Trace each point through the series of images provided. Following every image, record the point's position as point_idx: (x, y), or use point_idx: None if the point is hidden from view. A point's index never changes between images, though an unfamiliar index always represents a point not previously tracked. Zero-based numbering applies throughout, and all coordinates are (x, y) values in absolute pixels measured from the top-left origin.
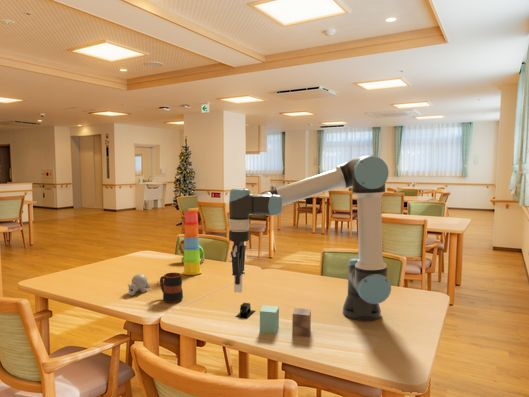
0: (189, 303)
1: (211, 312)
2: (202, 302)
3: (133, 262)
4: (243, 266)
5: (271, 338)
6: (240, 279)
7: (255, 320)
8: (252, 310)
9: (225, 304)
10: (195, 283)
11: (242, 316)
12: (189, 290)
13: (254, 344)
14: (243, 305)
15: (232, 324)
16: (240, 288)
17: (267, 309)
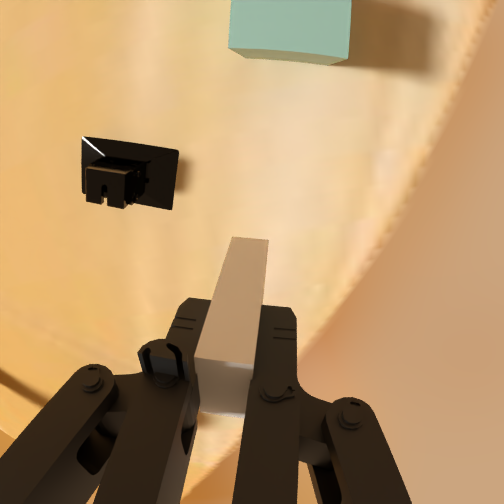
0: (118, 364)
1: (157, 302)
2: (93, 336)
3: (18, 432)
4: (83, 428)
5: (384, 14)
6: (257, 334)
7: (187, 107)
8: (84, 152)
9: (72, 269)
10: (8, 356)
11: (160, 177)
12: (46, 367)
13: (447, 87)
14: (119, 194)
15: (256, 202)
16: (265, 267)
17: (305, 10)
